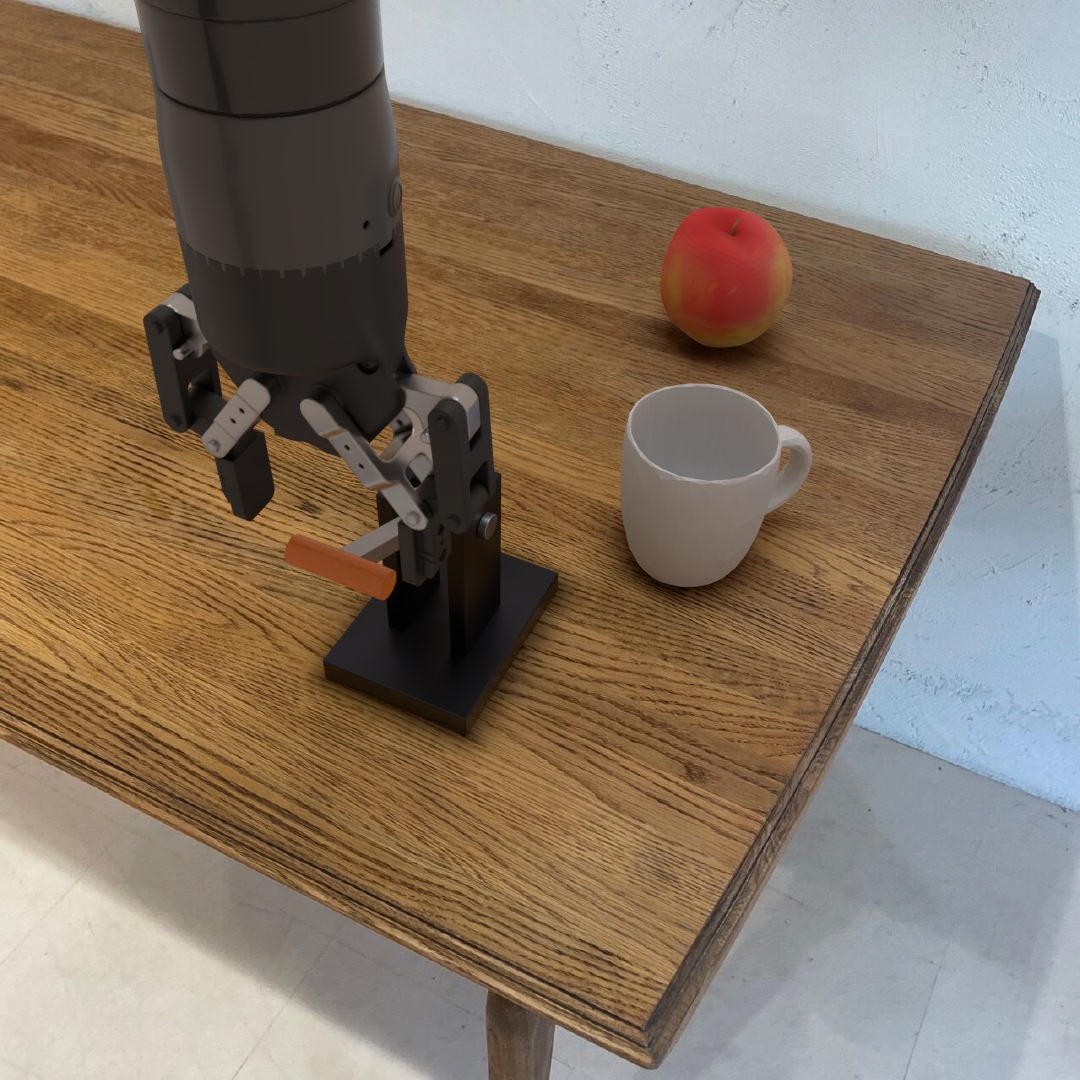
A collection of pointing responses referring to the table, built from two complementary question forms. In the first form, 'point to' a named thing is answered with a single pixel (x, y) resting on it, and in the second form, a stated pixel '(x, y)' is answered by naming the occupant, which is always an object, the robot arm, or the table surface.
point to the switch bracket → (445, 625)
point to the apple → (725, 276)
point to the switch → (350, 560)
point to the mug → (703, 479)
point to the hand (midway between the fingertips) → (337, 538)
